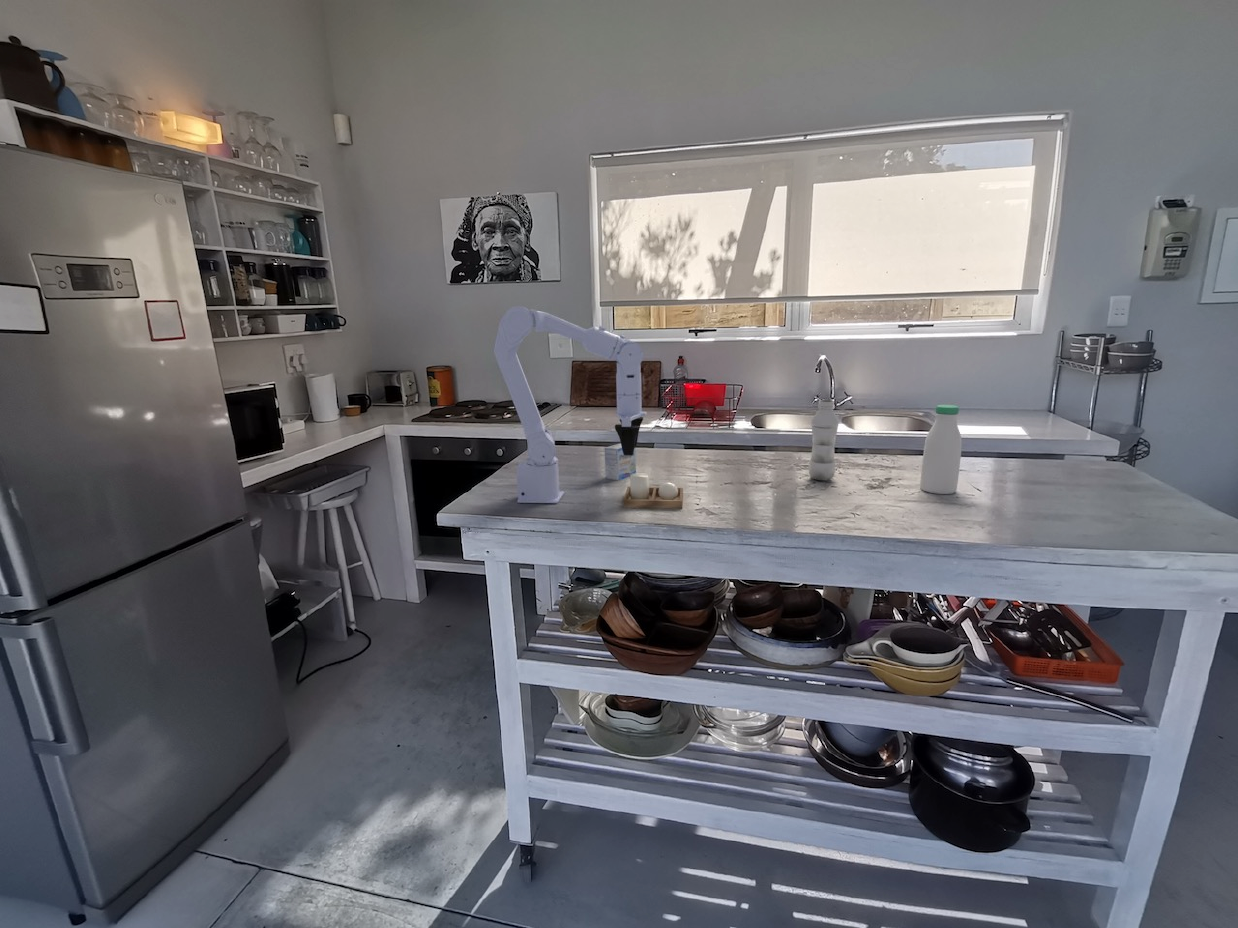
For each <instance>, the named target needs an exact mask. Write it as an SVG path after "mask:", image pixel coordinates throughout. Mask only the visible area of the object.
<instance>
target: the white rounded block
mask: <svg viewBox="0 0 1238 928" xmlns="http://www.w3.org/2000/svg"><path fill="white" fill-rule="evenodd" d="M649 477H650V475H649V474H648V473H645V472H636V473H634V474H631V475H630V477H629V483H630V484H629V485H630V486H629V487H630V494H631V499H637V500H649V487H650V479H649Z"/></svg>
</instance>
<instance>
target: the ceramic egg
mask: <svg viewBox="0 0 1238 928" xmlns="http://www.w3.org/2000/svg"><path fill="white" fill-rule="evenodd" d="M659 487H660V488H659V496H660V498H661V499H662V500H674V499H675V498H676V497H677V495H678V489H677V488H678V487H677V485H676V484H675V483H674V482H670V481H665V482H663V483H662V484H660V486H659Z"/></svg>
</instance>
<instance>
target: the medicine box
mask: <svg viewBox="0 0 1238 928" xmlns="http://www.w3.org/2000/svg"><path fill="white" fill-rule="evenodd" d="M636 453H637V451H636V448H634V453H633V455H624V454H623V451H622V446H621V442H620V443H616V444H613V445H609V446H607V447H604V470H605V471H604V472H605V474H604V476H605V479H608V480H609V479H610V480H613V481H614V480H615V481H620V480H623V479H625V478H630V475H631V474H634V473H637V463H636V462H637V461H636V460H637V458H636V457H637V456H636V455H637V454H636Z"/></svg>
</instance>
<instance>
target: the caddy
mask: <svg viewBox="0 0 1238 928" xmlns="http://www.w3.org/2000/svg"><path fill="white" fill-rule="evenodd" d="M659 488H660V486H659V487H658V486H657V487H654V486H652V487H651V486H649V500H637V499H631V494H630V486H627V488H626V491H625V494H624V496H623V499H622V507H623V509H624V508H625V509H626V508H627V509H632V508H633V509H678V510H679V509H680V510H682V509H683V502H684V501H683V500H684V488H683V487H677V489H678V495H677V497H676V498H675V499H674V500H662V499H661V498H660V496H659Z"/></svg>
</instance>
